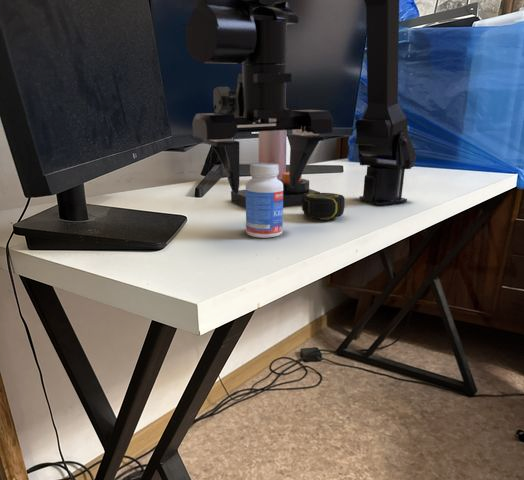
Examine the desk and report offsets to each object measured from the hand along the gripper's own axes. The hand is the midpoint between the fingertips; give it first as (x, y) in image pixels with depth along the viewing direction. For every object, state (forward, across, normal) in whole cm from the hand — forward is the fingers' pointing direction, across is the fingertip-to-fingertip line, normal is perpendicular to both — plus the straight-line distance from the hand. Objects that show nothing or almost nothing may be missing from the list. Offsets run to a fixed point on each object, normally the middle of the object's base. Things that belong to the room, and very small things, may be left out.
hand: (264, 190), depth 73 cm
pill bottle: (+6, 0, 0) cm, 6 cm away
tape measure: (+6, -13, -5) cm, 15 cm away
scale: (+6, -12, -19) cm, 23 cm away
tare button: (+3, -15, -19) cm, 25 cm away
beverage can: (+6, -21, -37) cm, 43 cm away
